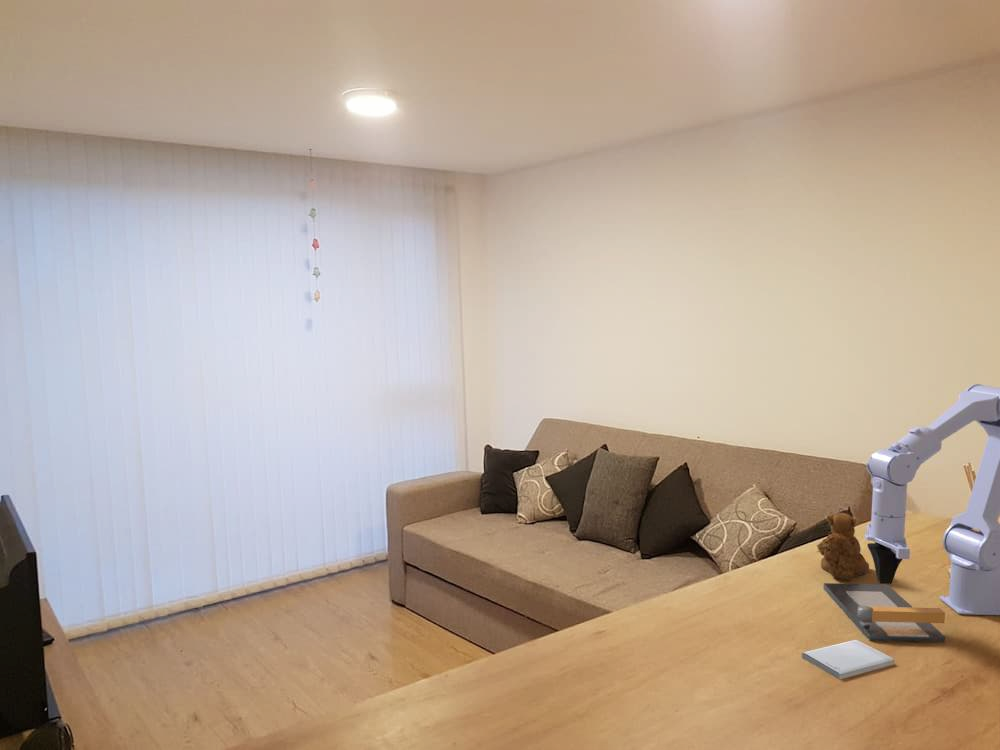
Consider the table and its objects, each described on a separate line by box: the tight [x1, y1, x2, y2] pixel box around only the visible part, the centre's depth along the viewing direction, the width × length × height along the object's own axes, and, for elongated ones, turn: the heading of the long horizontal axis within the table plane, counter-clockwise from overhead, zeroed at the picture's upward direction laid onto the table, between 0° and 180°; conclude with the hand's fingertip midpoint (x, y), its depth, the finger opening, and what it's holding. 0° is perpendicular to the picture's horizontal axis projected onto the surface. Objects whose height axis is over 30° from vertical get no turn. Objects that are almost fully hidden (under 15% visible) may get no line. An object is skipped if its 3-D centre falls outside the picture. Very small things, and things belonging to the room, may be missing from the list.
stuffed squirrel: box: [816, 512, 870, 581], centre depth 168 cm, size 10×14×13 cm
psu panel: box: [823, 582, 946, 643], centre depth 147 cm, size 13×24×2 cm, turn 176°
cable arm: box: [857, 606, 946, 624], centre depth 139 cm, size 15×3×2 cm, turn 86°
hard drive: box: [801, 639, 895, 681], centre depth 129 cm, size 2×8×12 cm
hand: (884, 582), depth 145 cm, fingers closed
